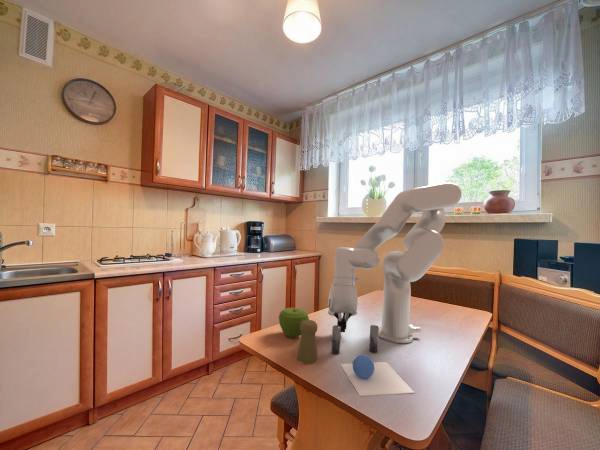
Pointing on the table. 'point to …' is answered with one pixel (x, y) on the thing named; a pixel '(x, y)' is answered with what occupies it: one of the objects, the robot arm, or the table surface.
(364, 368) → the ball
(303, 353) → the olive pawn shape
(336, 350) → the post
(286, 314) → the apple
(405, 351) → the table surface
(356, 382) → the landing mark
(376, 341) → the post
